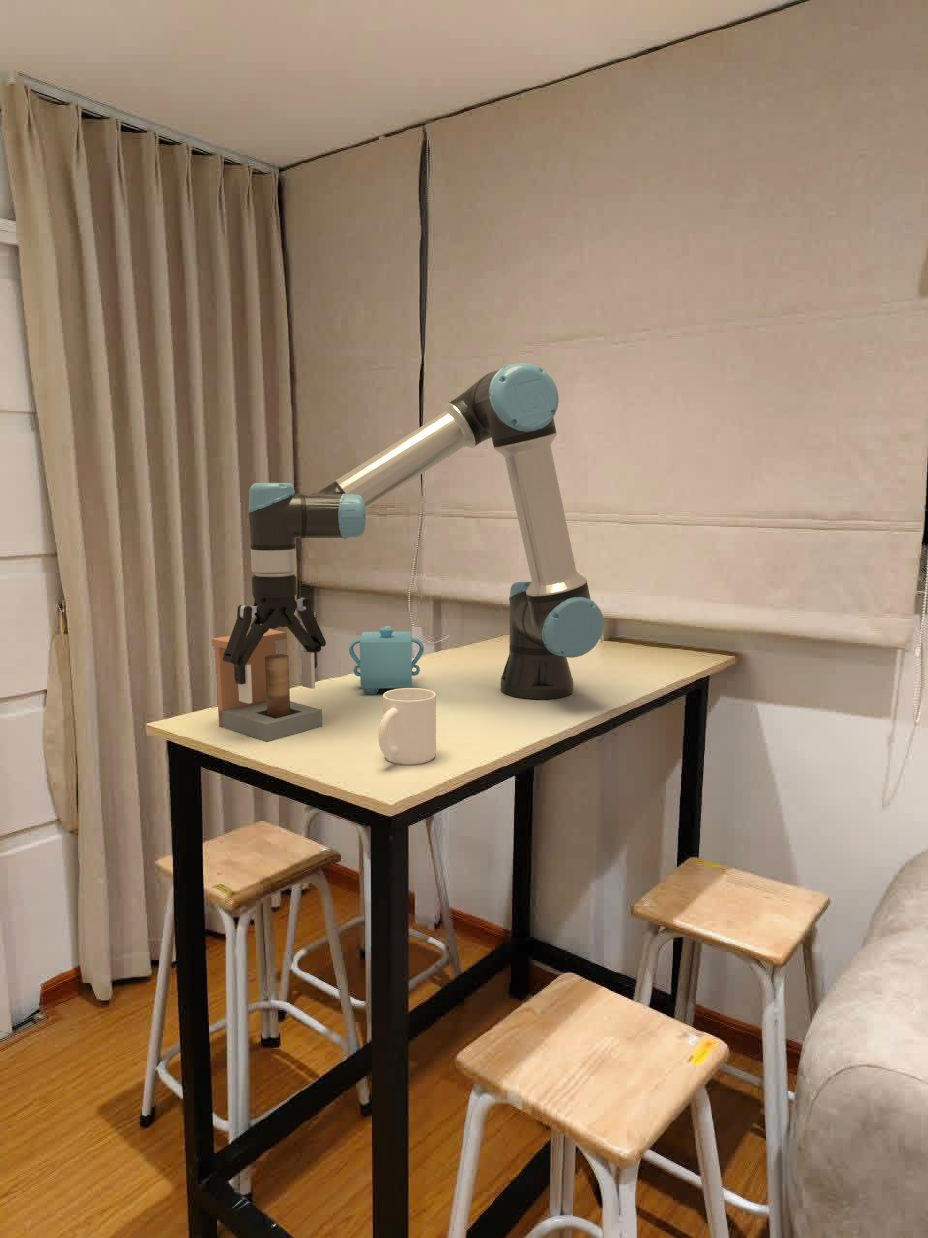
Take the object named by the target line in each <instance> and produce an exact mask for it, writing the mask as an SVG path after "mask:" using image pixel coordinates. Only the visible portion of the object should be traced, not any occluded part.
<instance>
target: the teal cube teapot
mask: <svg viewBox="0 0 928 1238" xmlns="http://www.w3.org/2000/svg"><path fill="white" fill-rule="evenodd" d="M378 630H379V631H363V632H362V633H361V637H360V638H356V639H354V640H352V641H351V643H350V644H349V646H348V652H349V655H350V657H351V658H352V660H353V661H354V663H355V664H357V665H355V666H354V667H353V674H354V675H355V676H356V677H359V678H360V679H359V680H360V681H359V683H360V689H366V690H365V692H364V694H367V695H376V694H378V692H379V689H401V688H413V677H416V676H418V675H419V674H420V673H421V672H420V671H421V669H420V667H419V666H420V665H418V664H417V663H418V661H419V660H420V659H421V657H422V656H423V655H424V649H425V647H424V644H423V642H422V641H421V640H420V639H419V638H416V637H412V631H394V628H392V627H391V626H390V625H385V626H384V627H380V628H379V629H378ZM412 643H415V644H416V645H418V646H419V650H418V651H417V654H416V655H415V657H414V658H413V656H412V655H413V654H412V649H413V648H412V647H413V646H412ZM357 644H359V658H358V656H357V655H356V653H355V652H354V647H355V646H357ZM414 668H415V669H416V670H415V671H413V669H414ZM358 669H359V671H358Z"/></svg>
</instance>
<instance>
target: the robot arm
mask: <svg viewBox="0 0 928 1238" xmlns="http://www.w3.org/2000/svg"><path fill="white" fill-rule="evenodd" d="M558 407H559V392H558V388H557V384H556V383H555V381H554V379H553V378H552V377H551V375H550V374H549V373H548V372H547V371H546V370H544V369H542V367H540V366H538V365H536V364H532V363H528V362H526V363H525V362H524V363H523V362H522V363H511V364H509V365H506V366H504V367H502V368H501V367H500V368H499V369H497V370H494V371H491V372H489V373H487V374H485V375H484V376H483V377H481V378H480V379H478V380H477V381H476V382H475V383H474V384H473V385H471V386H470V387H468V389H466V390H465V391H463V392H462V393H461V394H460V395H459V396H457V397H456V398H454V399H452V400H451V401H449V402H448V403H446V405H445V408H444V412H442V413H440V414H439V415H437V416H435V417H434V418H432V419H431V420H429V421H428V422H426V423H425V424H423V425H422V426H420V427H418V428H416V429H415V430H413V431H412V432H410V433H409V434H407V435H406V436H404V437H402V438H401V439H399V440H398V441H396V442H394V443H393V444H391V445H390V446H388V447H387V448H385V449H383V450H382V451H380V452H379V453H377V454H375V455H374V456H372V457H370V458H369V459H367V460H365V461H364V462H362V463H361V464H359V465H358V466H356V467H355V468H353V469H352V470H350V471H348V472H347V473H345V474H344V475H343V476H340V477H339V478H336V480H335V481H334V482H332V483H330V484H328V485H327V486H325V487H323V488H322V489H320V490H319V491H316V492H312V493H311V494H302V493H301V494H300V493H296V491H295V487H294V485H293V484H292V483H290V482H255V483H253V484H252V485H251V486H250V487H249V489H248V519H249V538H250V540H249V542H250V563H251V572H252V573H254V575H252V577H251V591H252V592H251V594H252V596H253V600H254V603H253V605H245V604H239V605H238V606H237V613H236V615H237V617H236V620H235V623H234V625H233V628H232V632H231V633H230V634H231V635H229V636H230V639H229V642H228V645H227V647H226V650H225V653H224V656H223V661H224V662H228V663H232V664H233V665H234V677H235V683H237V684H238V687H239V701H241V702H244V703H248V704H249V703H252V681H251V665H248V664H246V663H247V662H248V660H249V658H250V657H251V655H252V653H253V652H254V650H255V648H256V647H257V645H258V643H259V642H260V640H261V638H262V637H263V635H264V634H265V633H266V632H268V630H269V629H271V630H276V629H278V628H280V627H281V628H287V629H288V630H289V631H290V633H291V634H292V635H293V636H294V637H295V638H296V640H297V641H298V642H299V643H300V645H302V647H303V649H305V650H301V651H300V653H301V654H300V655H301V656H300V659H301V686H302V687H304V688H308V689H311V690H313V689H316V677H315V676H316V674H315V673H316V672H315V670H316V669H317V667H318V653H320V652H321V650H322V647H325V646H326V645H327V642H326V639H325V637H324V634H323V632H322V630H321V628H320V626H319V623H318V622H317V621H318V620H317V619H316V617H315V615H314V612H313V610H312V603H311V602H312V600H311V599H310V598H309V597H301V596H298V597H297V598H296V596H297V595H298V582H297V581H298V580H297V576H296V574H294V573H295V572H296V571H297V569H298V568H297V551H296V539H344V540H345V539H349V538H350V539H351V538H359V537H362V536H363V535H364V533H365V532H366V531H365V530H366V522H367V516H366V515H367V513H366V512H367V511H366V510H367V509H368V508H371V507H372V506H373V505H375V504H376V503H378V502H379V501H381V500H383V499H385V498H386V497H387V496H389V495H390V494H392V493H394V492H395V491H397V490H398V489H400V488H401V487H403V486H405V485H406V484H408V483H410V482H411V481H412V480H414V479H416V478H418V477H419V476H420V475H422V474H424V473H425V472H427V471H429V470H430V469H432V468H433V467H435V466H436V465H438V464H439V463H441V462H442V461H444V460H446V459H448V458H450V457H451V456H452V455H453V454H456V453H457V452H459V451H460V450H461V449H463V448H465V447H466V448H472V449H473V448H475V447H476V446H478V445H479V444H481V443H482V442H484V441H487V440H489V439H491V441H492V444H493V449H494V450H495V451H496V452H498V453H500V454H501V455H502V457H504V460H505V466H506V470H507V475H508V478H509V479H508V480H509V484H510V488H511V493H512V497H513V502H514V506H515V511H516V517H517V520H518V525H519V530H520V534H521V538H522V542H523V547H524V552H525V556H526V557H525V558H526V561H527V565H528V571H529V575H530V580H531V581H517V582H516V581H515V582H514V583H512V584H511V586H510V589H509V590H510V591H509V592H510V594H509V597H508V601H509V652H508V657H507V659H506V662H505V666H504V669H503V673H502V676H501V677H500V691H501V693H503V694H505V695H508V696H511V697H514V698H521V699H528V700H529V699H534V700H535V699H536V700H547V699H548V700H550V699H551V700H552V699H558V698H564V697H567V696H570V695H571V694H572V693H574V678H573V677H572V673H571V668H570V666H569V662H568V658H571V659H573V658H578V657H581V656H583V655H586V654H588V653H589V652H591V651H592V650H593V649H595V647H596V646H597V644H598V643H599V641H600V640H601V638H602V635H603V633H604V628H605V619H604V614H603V612H602V610H601V609H600V607H599V606H598V604H597V603H595V601H593V600H592V599H591V593H590V589H589V585H588V584H589V583H588V580H587V578H586V576H583V575H582V574H580V573H579V572H578V571H577V567H576V562H575V558H574V557H575V556H574V552H573V547H572V544H571V538H570V534H569V529H568V524H567V519H566V513H565V509H564V505H563V499H562V494H561V490H560V485H559V480H558V476H557V470H556V466H555V462H554V456H553V451H552V443H553V441H554V440H555V438H556V436H557V435H558V433H557V429H556V424H555V419H554V417H555V415H556V412H557V410H558ZM296 611H298V613H297V614H298V615H299V616H300V619H301V621H302V624H303V625H302V624H301V621H300V620H299V619H298V617H297V616H296V615H295V613H296ZM254 617H255V618H254ZM253 618H254V619H253ZM252 619H253V621H252ZM247 633H248V634H247ZM246 635H247V636H246Z"/></svg>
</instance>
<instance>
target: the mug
mask: <svg viewBox="0 0 928 1238" xmlns="http://www.w3.org/2000/svg"><path fill="white" fill-rule="evenodd" d="M382 712H383V713H382V714H383V716H382V717H381V720H380V722H379V723H380V724H379V728H378V745H379V748H380V751H381V752H382V754H383V755H384V758H385V759H386V760H387V761H388V762H390V763H393V764H396V765H401V766H402V765H403V766H413V765H421V764H426V763H428V762H431V761H432V760H433V759H435V757H436V753H437V752H436V751H437V694H436V692H435V691H433V690H430V689H426V688H420V687H419V688H417V687H415V688H414V687H412V688H401V689H395V688H393V689H390V690H387V691H386V692H384V693H383V695H382Z"/></svg>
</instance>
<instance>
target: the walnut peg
mask: <svg viewBox="0 0 928 1238" xmlns="http://www.w3.org/2000/svg"><path fill="white" fill-rule="evenodd" d="M289 659H290V658H289V655H288V654H284V653H283V654H282V653H281V654H280V653H276V654H273V655H268V656H265V672H266V700H267V716H268V717H271V718H275V719H277V718H281V717H284V716H288V715H290V701H291V695H290V694H291V693H290V664H289V663H290V661H289Z"/></svg>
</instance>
